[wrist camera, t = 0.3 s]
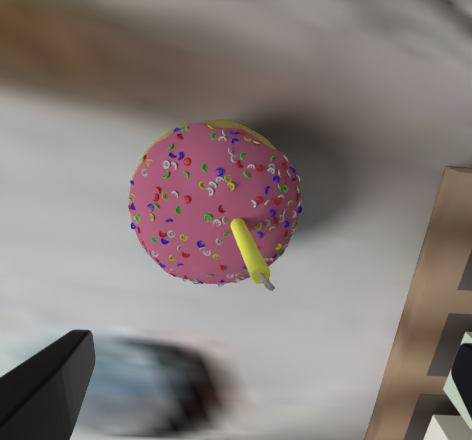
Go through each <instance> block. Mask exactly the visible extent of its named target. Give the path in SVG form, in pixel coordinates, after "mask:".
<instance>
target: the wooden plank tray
mask: <svg viewBox="0 0 472 440" xmlns="http://www.w3.org/2000/svg"><path fill="white" fill-rule="evenodd" d="M465 332H472V168H458V167H446V169H445V172H444V175H443V179H442V182H441V185H440V189H439V192H438V196H437V199H436V202H435V206H434V209H433V212H432V216H431V219H430V222H429V226H428V229H427V232H426V236H425V239H424V243H423V246H422V249H421V253H420V256H419V259H418V263H417V266H416V269H415V273H414V276H413V279H412V283H411V286H410V289H409V293H408V296H407V300H406V303H405V306H404V310H403V313H402V316H401V320H400V323H399V326H398V330H397V333H396V336H395V340H394V343H393V347H392V350H391V353H390V357H389V360H388V363H387V367H386V370H385V373H384V377H383V380H382V383H381V387H380V390H379V394H378V397H377V400H376V404H375V407H374V410H373V414H372V417H371V420H370V424H369V427H368V430H367V434H366V437H365V440H423V439H424V437H425V434H426V432H427V429H428V427H429V424H430V421H431V419H432V416H433V415H452V416H461V415H460V413H459V412H458V410H457V409H456V407H455V406H454V404H453V403H452V401H451V400H450V399H449V397H448V396H447V394H446V393H445V391H444V390H443V388H444V386H445V383H446V380H447V378H448V375H449V373H450V370H451V367H452V364H453V361H454V359H455V356H456V353H457V350H458V348H459V346H460V345H461V342H462V339H463V337H464V334H465Z"/></svg>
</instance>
